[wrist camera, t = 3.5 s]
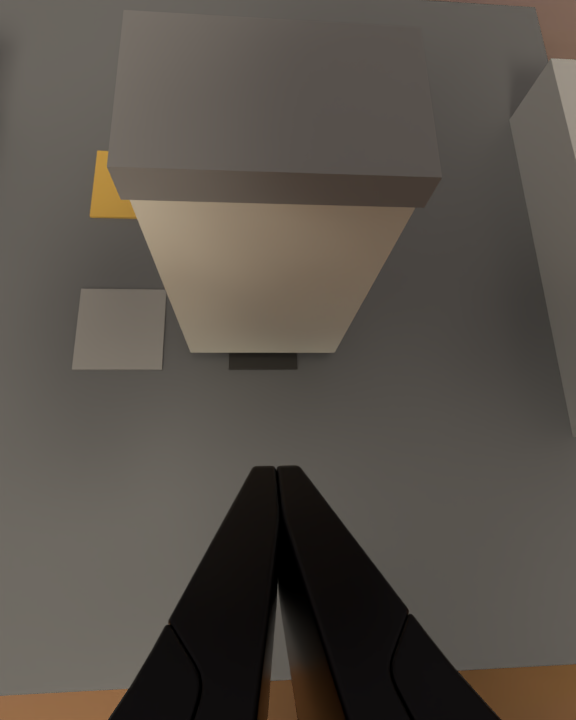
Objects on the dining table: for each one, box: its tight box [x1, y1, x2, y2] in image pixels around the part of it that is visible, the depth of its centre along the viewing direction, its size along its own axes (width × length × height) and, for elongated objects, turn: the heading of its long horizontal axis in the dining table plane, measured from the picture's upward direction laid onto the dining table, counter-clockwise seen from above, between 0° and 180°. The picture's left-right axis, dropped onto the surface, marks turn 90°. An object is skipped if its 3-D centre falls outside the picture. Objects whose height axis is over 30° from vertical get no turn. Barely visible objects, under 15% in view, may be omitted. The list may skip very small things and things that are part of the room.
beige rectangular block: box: [107, 10, 442, 353], centre depth 12 cm, size 3×5×9 cm, turn 91°
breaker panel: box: [0, 0, 576, 696], centre depth 17 cm, size 28×27×4 cm
